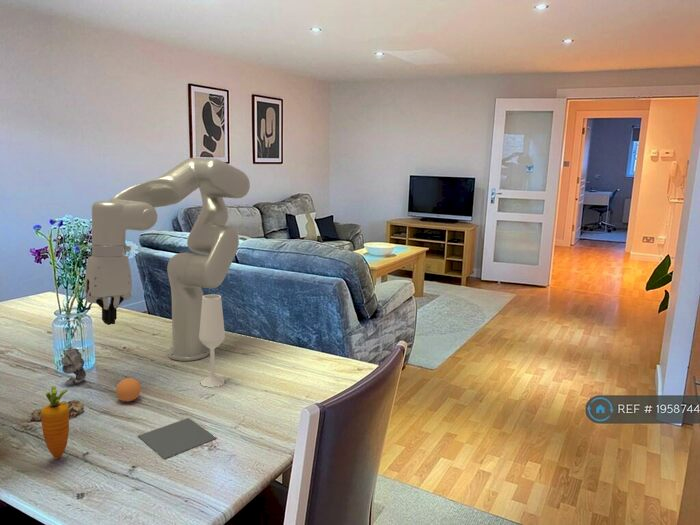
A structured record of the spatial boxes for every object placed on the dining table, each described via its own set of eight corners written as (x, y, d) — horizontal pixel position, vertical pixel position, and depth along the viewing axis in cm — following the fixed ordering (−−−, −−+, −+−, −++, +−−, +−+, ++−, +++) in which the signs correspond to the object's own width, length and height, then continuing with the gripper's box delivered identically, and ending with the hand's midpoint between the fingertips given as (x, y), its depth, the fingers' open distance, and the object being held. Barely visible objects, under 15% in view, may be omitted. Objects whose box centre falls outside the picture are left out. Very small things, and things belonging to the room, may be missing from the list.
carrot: (51, 452, 104) (46, 382, 101) (76, 452, 104) (72, 382, 101) (38, 466, 99) (33, 393, 96) (65, 466, 99) (61, 393, 97)
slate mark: (188, 418, 120) (188, 417, 120) (216, 438, 112) (216, 437, 112) (137, 436, 111) (137, 435, 111) (164, 459, 103) (164, 458, 103)
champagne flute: (230, 382, 140) (230, 297, 136) (208, 389, 135) (207, 301, 131) (216, 375, 144) (215, 292, 140) (194, 381, 140) (193, 296, 135)
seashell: (76, 388, 133) (74, 351, 131) (58, 385, 134) (56, 349, 132) (90, 380, 138) (88, 344, 136) (73, 377, 139) (71, 342, 137)
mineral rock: (82, 394, 125) (84, 398, 118) (84, 412, 125) (86, 417, 118) (30, 404, 120) (29, 409, 113) (32, 423, 120) (31, 429, 113)
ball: (135, 393, 131) (134, 372, 130) (145, 400, 128) (144, 379, 126) (112, 399, 127) (111, 378, 126) (122, 407, 123) (121, 385, 122)
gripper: (132, 248, 136) (132, 316, 138) (71, 250, 125) (72, 324, 127) (145, 252, 131) (144, 322, 133) (82, 254, 120) (83, 331, 122)
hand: (109, 323), depth 130 cm, fingers closed
